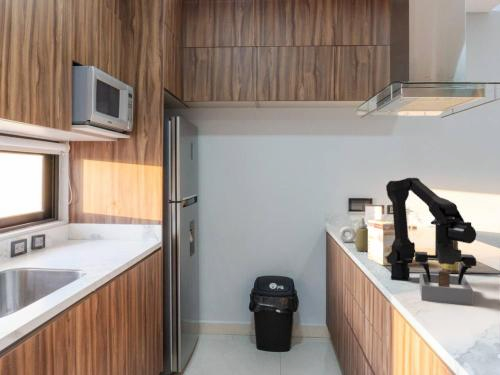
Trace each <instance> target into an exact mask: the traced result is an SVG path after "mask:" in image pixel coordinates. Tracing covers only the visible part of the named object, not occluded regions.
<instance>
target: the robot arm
mask: <svg viewBox="0 0 500 375" xmlns="http://www.w3.org/2000/svg"><path fill="white" fill-rule="evenodd" d="M385 186H386V194H387V198H388V199H389V200H390V202H391V205H392V216H393V223H394V230H395V240H394V242H393V244H392V252H391V253H390V254H389V255H388V256H387V257H386V259H387V263H390V264H391V265H390V267H391V268H390V270H391V271H390V279H391V280H397V281H409V279H410V270H411V268H410V266H409V264H412V263H413V261H414V262H415V263H418V264H419V265H420V266H422V267H423V269H424V270H425V273H426V274H427V277H428V280H429V282H430V274H431V273H430V265H429V261H435V262H436V261H437V262H438V264H440V265H442V264H450V265H453V264H455V262H458V263H459V265H458V275H457V276H458V284H459V285H460V283H461V281H462V278H463V276H465V273H466V271H468V269H472V267H476V266H477V258H476V257H475V256H474V255H473V254H466V253H465V254H464V253H462V250H461V249H458V250H456V249H455V250H454V241H457V242H458V243H459V242H460V243H465V244H472V243H473V242H474V241H475V240H476V239H477V238H476V237H477V232H476V228H474V227H473V226H472V222H470V221H465V219H464V218H463V216H462V214H461V213H460V211H459V209H458V206H457V205H456V203H454V202H453V201H452V200H451V201H450V200H449V199H446V198H443V197H440V196H439V195H438V194H436V193H435V192H434V191H433V190H432V189H430V188H429V187H428V186H427V185H426V184H425V183H423V182H422V181H421V180H420V179H419V178H418V177H407V178H404V179H399V180H389V181H388V182H387V184H386V185H385ZM410 191H411V193H413V194H414V195H415V196H416V197H418V198H419V199H420V200H421V201H423V203H424V204H426V206H427V207H428V211H429V212H430V213H431V215H432V216H433V218H434V219H433V220H432V221H430V225H434V226H435V230H434V231H435V234H434V235H435V237H434V238H435V241H434V242H435V244H434V245H435V248H434V249H435V250H434V251H435V252H434V253H435V254H428V252H427V251H416V244H415V242H413V241H411V240H410V238H409V228H408V217H407V208H406V207H407V206H406V203H407V202H406V201H407V199H408V198H409V196H410Z"/></svg>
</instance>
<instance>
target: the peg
mask: <svg viewBox="0 0 500 375" xmlns="http://www.w3.org/2000/svg"><path fill="white" fill-rule="evenodd" d="M438 274H439V281H438V286H442V287H450V275H451V273H449V272H446V271H442V270H440V271H438Z"/></svg>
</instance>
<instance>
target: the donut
mask: <svg viewBox="0 0 500 375" xmlns="http://www.w3.org/2000/svg"><path fill="white" fill-rule="evenodd" d="M347 232H348V233H349V234H350V235H349V236H346V233H347ZM338 233H339V234H338V235H339V236H338V237H339V239H340V240H341V241H342V242H344V243H347V244H348V243H352V242H353V241H355V237H356V229H354V228H353V227H352V226H344V227H342V228H340V231H339V232H338Z"/></svg>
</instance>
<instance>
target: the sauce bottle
mask: <svg viewBox="0 0 500 375" xmlns="http://www.w3.org/2000/svg"><path fill="white" fill-rule="evenodd" d="M455 249H456V250H459V241H454V250H455ZM441 271H446V272H449V273H450V274H457V273H459V262H455V264H453V265H450V264H441Z"/></svg>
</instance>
